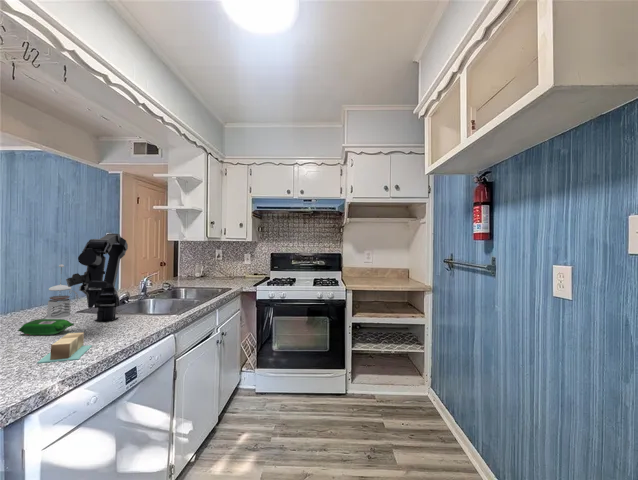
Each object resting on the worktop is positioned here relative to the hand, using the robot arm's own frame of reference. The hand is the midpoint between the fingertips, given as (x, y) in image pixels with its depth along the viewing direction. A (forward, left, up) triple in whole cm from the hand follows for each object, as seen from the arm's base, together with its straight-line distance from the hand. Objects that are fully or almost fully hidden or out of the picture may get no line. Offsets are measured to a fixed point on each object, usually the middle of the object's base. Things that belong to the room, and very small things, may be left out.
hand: (90, 308), depth 113 cm
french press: (-15, -33, -11) cm, 38 cm away
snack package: (+4, -16, -11) cm, 19 cm away
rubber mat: (+17, +12, -10) cm, 23 cm away
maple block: (+12, +8, -8) cm, 16 cm away
